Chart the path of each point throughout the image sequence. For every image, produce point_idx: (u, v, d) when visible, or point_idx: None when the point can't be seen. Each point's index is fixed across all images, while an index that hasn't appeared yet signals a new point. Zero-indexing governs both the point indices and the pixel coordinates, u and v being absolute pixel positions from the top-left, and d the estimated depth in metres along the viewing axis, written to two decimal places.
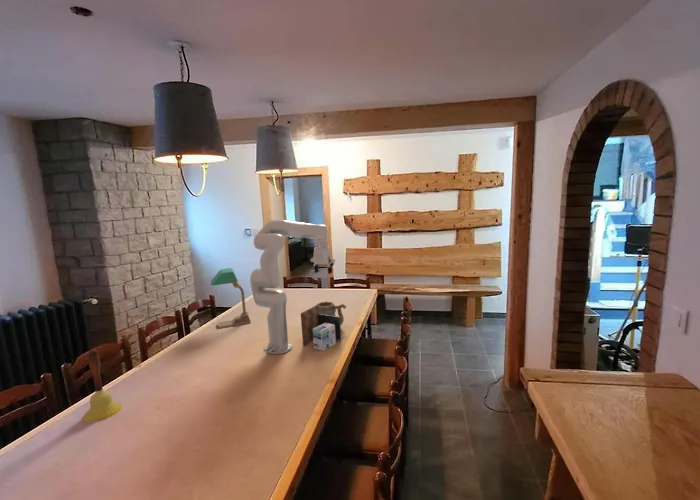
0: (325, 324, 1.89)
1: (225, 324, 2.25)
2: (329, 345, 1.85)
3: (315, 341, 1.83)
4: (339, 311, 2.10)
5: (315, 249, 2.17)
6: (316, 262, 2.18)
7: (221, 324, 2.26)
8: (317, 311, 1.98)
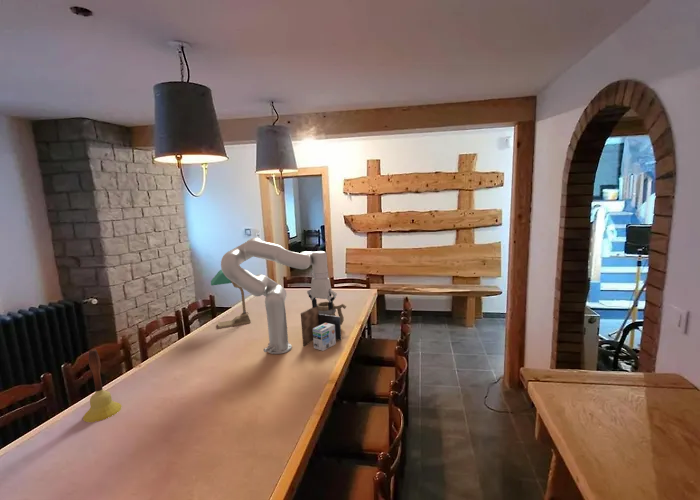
0: (325, 324, 1.89)
1: (225, 324, 2.25)
2: (329, 345, 1.85)
3: (315, 341, 1.83)
4: (339, 311, 2.10)
5: (313, 280, 1.82)
6: (314, 296, 1.83)
7: (221, 324, 2.26)
8: (317, 311, 1.98)
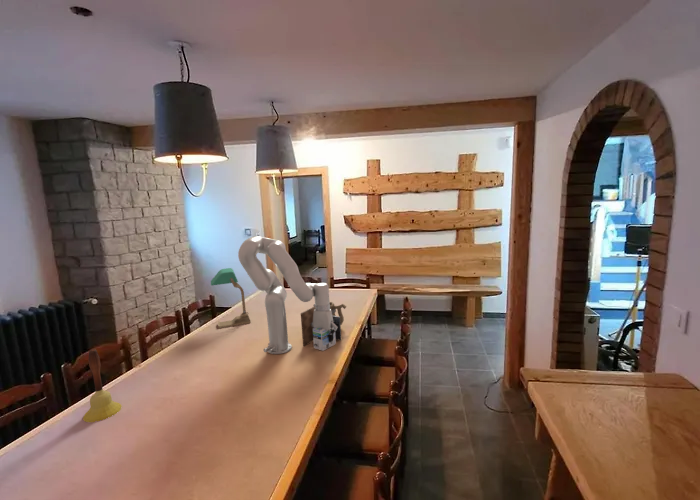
0: None
1: (225, 324, 2.25)
2: (329, 345, 1.85)
3: (315, 341, 1.83)
4: (339, 311, 2.10)
5: (315, 312, 1.84)
6: (316, 327, 1.85)
7: (221, 324, 2.26)
8: None
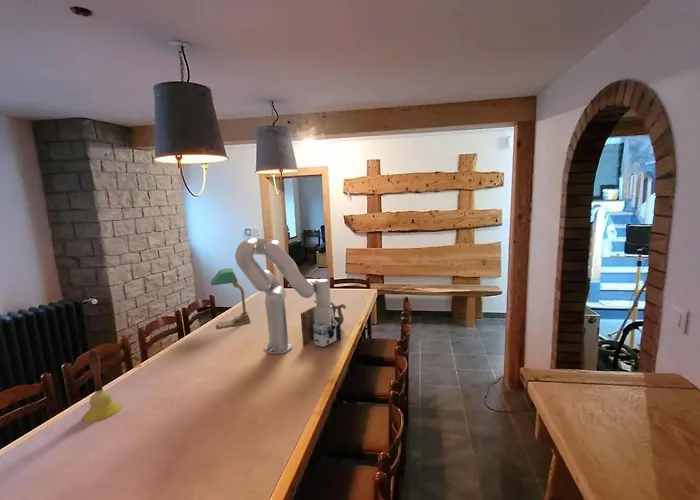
0: None
1: (225, 324, 2.25)
2: (329, 340, 1.85)
3: (316, 337, 1.84)
4: (339, 311, 2.10)
5: (315, 308, 1.84)
6: None
7: (221, 324, 2.26)
8: None
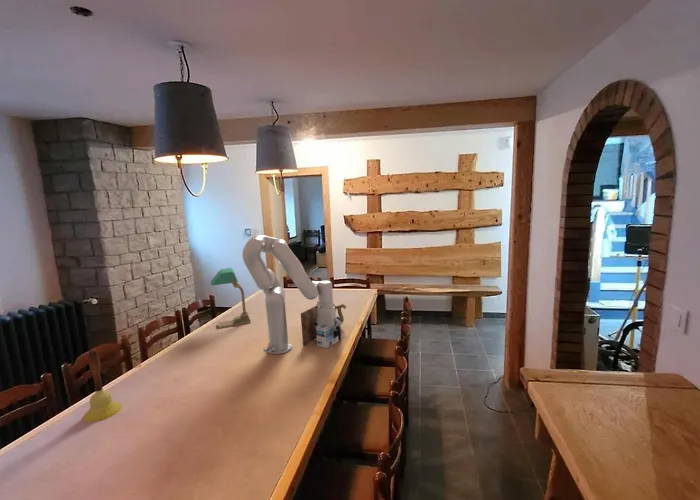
0: None
1: (225, 324, 2.25)
2: (332, 342, 1.88)
3: (318, 339, 1.86)
4: (339, 311, 2.10)
5: (319, 309, 1.87)
6: (319, 324, 1.88)
7: (221, 324, 2.26)
8: None
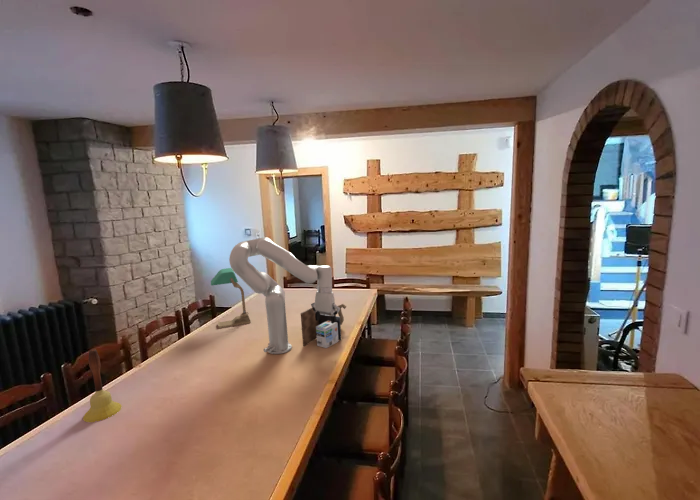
0: (328, 322, 1.92)
1: (225, 324, 2.25)
2: (332, 342, 1.88)
3: (318, 339, 1.86)
4: (339, 311, 2.10)
5: (317, 294, 1.85)
6: (317, 309, 1.86)
7: (221, 324, 2.26)
8: None
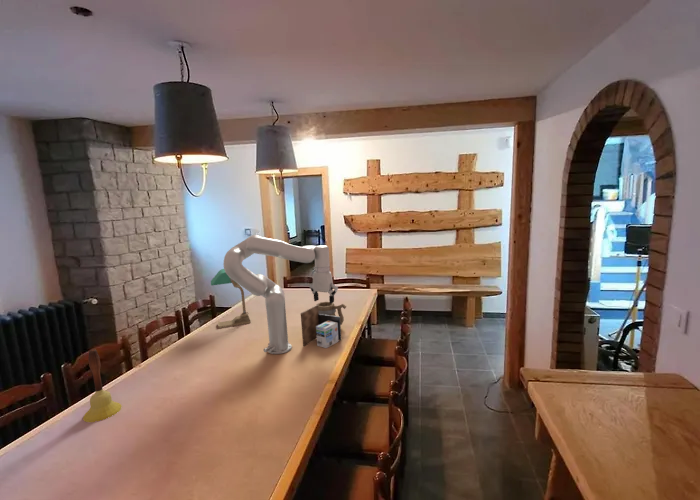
0: (328, 322, 1.92)
1: (225, 324, 2.25)
2: (332, 342, 1.88)
3: (318, 339, 1.86)
4: (339, 311, 2.10)
5: (315, 274, 1.85)
6: (315, 289, 1.86)
7: (221, 324, 2.26)
8: (317, 311, 1.98)
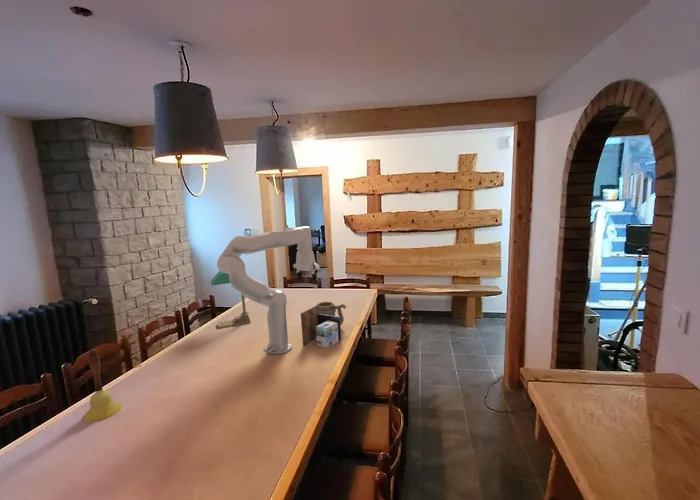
0: (328, 322, 1.92)
1: (225, 324, 2.25)
2: (332, 342, 1.88)
3: (318, 339, 1.86)
4: (339, 311, 2.10)
5: (298, 254, 1.93)
6: (299, 269, 1.94)
7: (221, 324, 2.26)
8: (317, 311, 1.98)
